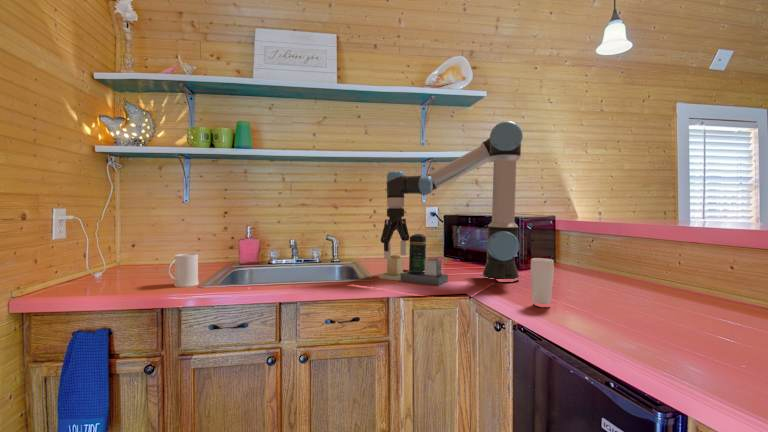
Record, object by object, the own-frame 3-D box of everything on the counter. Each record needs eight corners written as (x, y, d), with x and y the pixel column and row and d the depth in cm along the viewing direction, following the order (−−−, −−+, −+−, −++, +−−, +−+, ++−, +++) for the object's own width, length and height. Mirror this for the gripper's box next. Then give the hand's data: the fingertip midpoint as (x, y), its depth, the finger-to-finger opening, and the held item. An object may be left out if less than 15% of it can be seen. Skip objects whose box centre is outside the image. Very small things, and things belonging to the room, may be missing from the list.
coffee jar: (425, 274, 172) (425, 234, 172) (408, 273, 173) (408, 234, 173) (426, 271, 181) (426, 233, 181) (410, 270, 183) (410, 233, 182)
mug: (173, 289, 137) (173, 257, 137) (161, 287, 142) (160, 255, 141) (203, 284, 147) (203, 254, 147) (190, 281, 152) (190, 252, 151)
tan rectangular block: (402, 278, 161) (403, 255, 160) (397, 279, 156) (397, 256, 156) (393, 276, 163) (393, 254, 163) (387, 278, 159) (387, 255, 159)
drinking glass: (546, 303, 121) (547, 257, 121) (557, 309, 114) (558, 260, 114) (526, 303, 121) (527, 257, 120) (535, 309, 114) (536, 260, 114)
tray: (410, 278, 162) (410, 272, 162) (397, 282, 153) (397, 276, 153) (392, 276, 167) (392, 270, 167) (379, 280, 158) (379, 274, 157)
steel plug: (441, 282, 150) (441, 258, 149) (436, 284, 145) (436, 259, 145) (430, 280, 152) (430, 257, 152) (424, 282, 148) (424, 258, 148)
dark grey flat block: (447, 284, 150) (447, 274, 150) (438, 288, 143) (438, 278, 143) (411, 279, 159) (411, 270, 159) (400, 283, 152) (400, 273, 152)
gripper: (402, 207, 172) (402, 253, 172) (371, 207, 151) (372, 259, 151) (416, 207, 167) (416, 254, 168) (387, 207, 146) (387, 261, 147)
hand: (395, 257), depth 159 cm, fingers open, 13 cm apart
